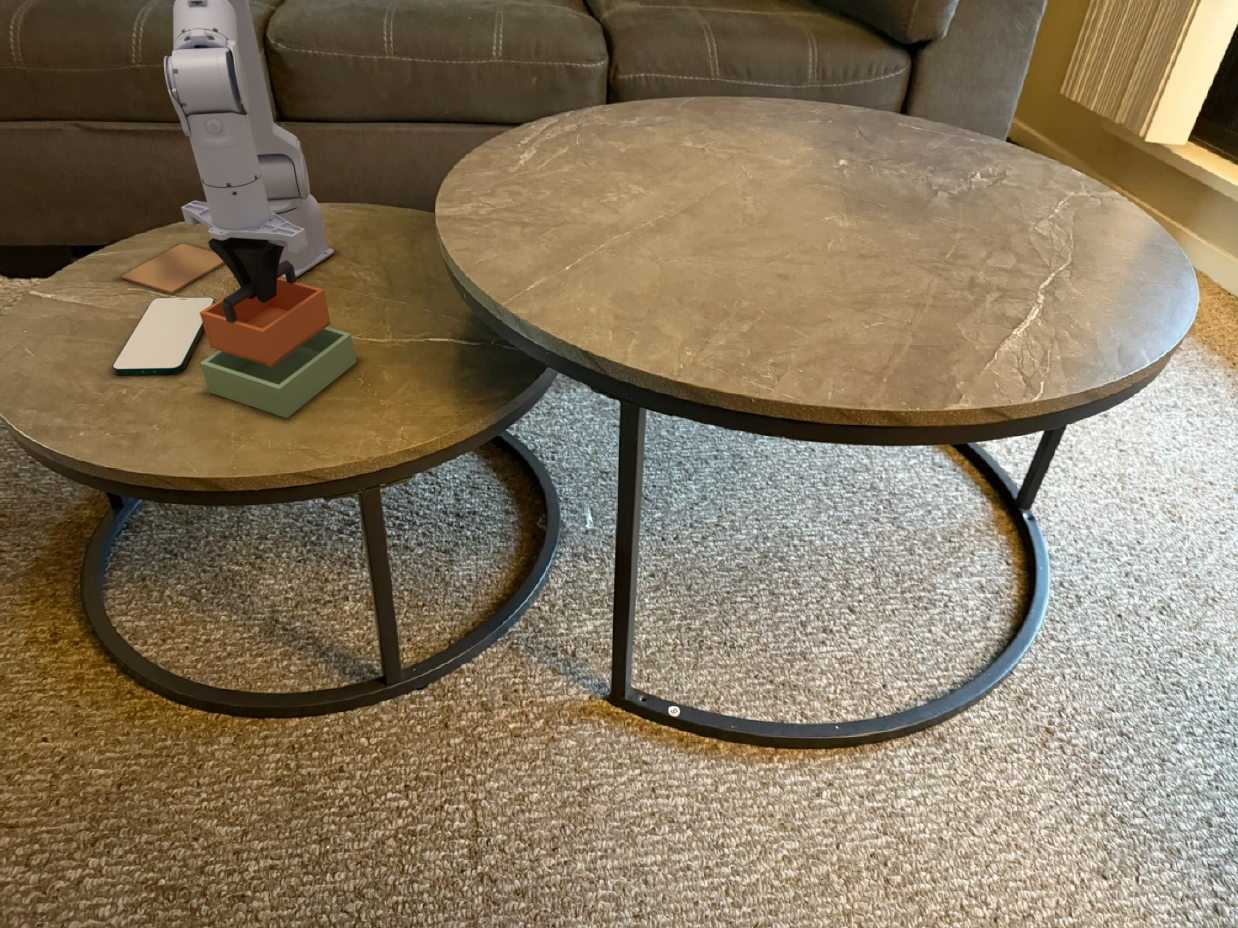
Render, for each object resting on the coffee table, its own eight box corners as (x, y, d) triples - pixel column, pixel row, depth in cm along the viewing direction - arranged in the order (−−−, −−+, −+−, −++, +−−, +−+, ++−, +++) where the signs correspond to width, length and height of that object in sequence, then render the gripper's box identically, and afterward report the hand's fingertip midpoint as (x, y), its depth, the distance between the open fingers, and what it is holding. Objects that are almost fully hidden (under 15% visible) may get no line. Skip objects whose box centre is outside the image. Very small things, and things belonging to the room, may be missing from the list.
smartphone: (182, 374, 105) (218, 303, 117) (180, 368, 104) (216, 296, 117) (111, 376, 105) (154, 303, 117) (108, 369, 104) (152, 297, 116)
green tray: (282, 339, 111) (275, 311, 109) (356, 362, 108) (351, 333, 105) (209, 392, 103) (199, 362, 100) (287, 418, 99) (279, 388, 97)
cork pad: (182, 245, 129) (182, 243, 129) (232, 259, 127) (231, 256, 126) (121, 278, 122) (120, 276, 121) (172, 294, 119) (171, 291, 119)
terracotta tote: (272, 306, 108) (258, 250, 103) (331, 323, 105) (320, 267, 100) (209, 348, 100) (191, 290, 96) (271, 368, 98) (255, 309, 93)
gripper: (145, 176, 90) (183, 297, 99) (261, 205, 86) (290, 329, 94) (197, 152, 95) (229, 269, 104) (310, 179, 91) (333, 299, 99)
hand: (261, 296), depth 99 cm, fingers closed on terracotta tote
